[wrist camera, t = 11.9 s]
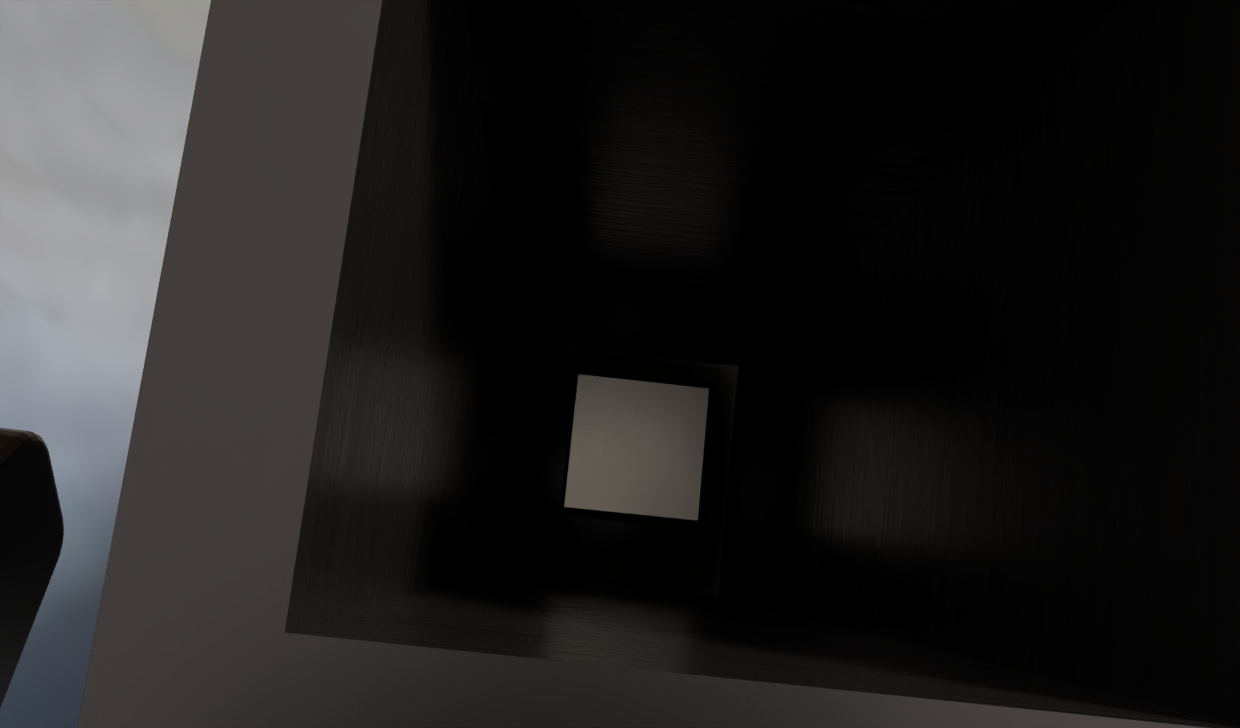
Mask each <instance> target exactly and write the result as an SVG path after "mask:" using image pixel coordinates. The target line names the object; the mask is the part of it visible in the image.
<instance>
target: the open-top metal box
mask: <svg viewBox="0 0 1240 728" xmlns="http://www.w3.org/2000/svg"><path fill="white" fill-rule="evenodd" d="M512 340H520V341H528V342H537V343H545V344H554V345H562V346H571V347H579V348H588V349H597V350H605V351H614V352H622V353H631V354H639V355H648V356H656V357H665V358H673V359H682V360H690V361H699V362H707V363H716V364H725V365H733V366H738V377H737V388H736V399H735V410H734V422H733V433H732V444H731V455H730V467H729V478H728V489H727V500H726V511H725V523H724V534H723V545H722V556H721V568H720V579H719V590H718V596H709V595H700V594H691V593H681V592H672V591H663V590H653V589H644V588H635V587H625V586H616V585H606V584H597V583H588V582H578V581H569V580H560V579H550V578H541V577H532V576H522V575H513V574H503V573H494V572H485V571H483V570H484V562H485V554H486V546H487V538H488V530H489V522H490V514H491V506H492V498H493V490H494V482H495V474H496V466H497V458H498V450H499V442H500V434H501V426H502V418H503V410H504V402H505V394H506V386H507V378H508V370H509V362H510V354H511V346H512ZM78 728H1240V0H211V4H210V9H209V15H208V20H207V26H206V31H205V37H204V42H203V48H202V53H201V58H200V64H199V69H198V75H197V80H196V86H195V91H194V97H193V102H192V108H191V113H190V118H189V124H188V129H187V135H186V140H185V146H184V151H183V157H182V162H181V167H180V173H179V178H178V184H177V189H176V195H175V200H174V206H173V211H172V217H171V222H170V227H169V233H168V238H167V244H166V249H165V255H164V260H163V266H162V271H161V276H160V282H159V287H158V293H157V298H156V304H155V309H154V315H153V320H152V325H151V331H150V336H149V342H148V347H147V353H146V358H145V364H144V369H143V375H142V380H141V385H140V391H139V396H138V402H137V407H136V413H135V418H134V424H133V429H132V435H131V440H130V445H129V451H128V456H127V462H126V467H125V473H124V478H123V484H122V489H121V494H120V500H119V505H118V511H117V516H116V522H115V527H114V533H113V538H112V543H111V549H110V554H109V560H108V565H107V571H106V576H105V582H104V587H103V593H102V598H101V603H100V609H99V614H98V620H97V625H96V631H95V636H94V642H93V647H92V652H91V658H90V663H89V669H88V674H87V680H86V685H85V691H84V696H83V702H82V707H81V712H80V718H79V723H78Z"/></svg>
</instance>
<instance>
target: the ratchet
mask: <svg viewBox="0 0 1240 728" xmlns="http://www.w3.org/2000/svg"><path fill="white" fill-rule="evenodd" d="M737 377H738V366H733V365H725V364H716V363H707V362H699V361H690V360H682V359H673V358H665V357H656V356H648V355H639V354H631V353H622V352H614V351H605V350H597V349H588V348H579V347H571V346H562V345H554V344H545V343H537V342H528V341H520V340H512V346H511V354H510V362H509V370H508V378H507V386H506V394H505V402H504V410H503V418H502V426H501V434H500V442H499V450H498V458H497V466H496V474H495V482H494V490H493V498H492V506H491V514H490V522H489V530H488V538H487V546H486V554H485V562H484V570H483V571H485V572H494V573H503V574H513V575H522V576H532V577H541V578H550V579H560V580H569V581H578V582H588V583H597V584H606V585H616V586H625V587H635V588H644V589H653V590H663V591H672V592H681V593H691V594H700V595H709V596H718V590H719V579H720V568H721V556H722V545H723V534H724V523H725V511H726V500H727V489H728V478H729V467H730V455H731V444H732V433H733V422H734V410H735V399H736V388H737Z"/></svg>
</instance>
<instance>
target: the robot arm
mask: <svg viewBox="0 0 1240 728" xmlns="http://www.w3.org/2000/svg"><path fill="white" fill-rule="evenodd" d="M63 535H64V525H63V517H62V513H61V508H60V503H59V498H58V494H57V489H56V484H55V480H54V475H53V470H52V465H51V461H50V456H49V452H48V449H47V446H46V444H45V442H44V441H43V439H42V438H41V437H40V436H39V435H37V434H35V433H33V432H30V431H24V430H15V429H6V428H0V707H1V704H2V702H3V699H4V697H5V694H6V692H7V689H8V686H9V684H10V681H11V679H12V676H13V674H14V671H15V669H16V666H17V663H18V661H19V658H20V656H21V653H22V651H23V648H24V646H25V643H26V640H27V638H28V635H29V633H30V630H31V628H32V625H33V622H34V620H35V617H36V615H37V612H38V610H39V607H40V605H41V602H42V599H43V597H44V594H45V592H46V589H47V587H48V584H49V582H50V579H51V576H52V574H53V571H54V569H55V566H56V564H57V561H58V558H59V555H60V552H61V548H62V543H63Z"/></svg>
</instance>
